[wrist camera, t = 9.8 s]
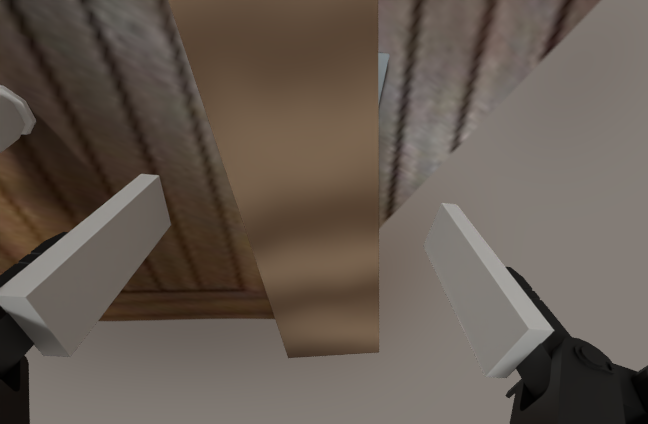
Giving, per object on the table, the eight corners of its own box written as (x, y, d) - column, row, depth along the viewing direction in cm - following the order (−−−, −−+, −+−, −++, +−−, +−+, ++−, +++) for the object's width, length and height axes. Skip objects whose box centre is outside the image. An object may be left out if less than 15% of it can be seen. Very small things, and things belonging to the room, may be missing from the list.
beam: (191, -100, 12) (105, -187, 7) (355, -127, 11) (377, -240, 7) (294, 300, 26) (288, 358, 21) (369, 294, 25) (379, 352, 21)
